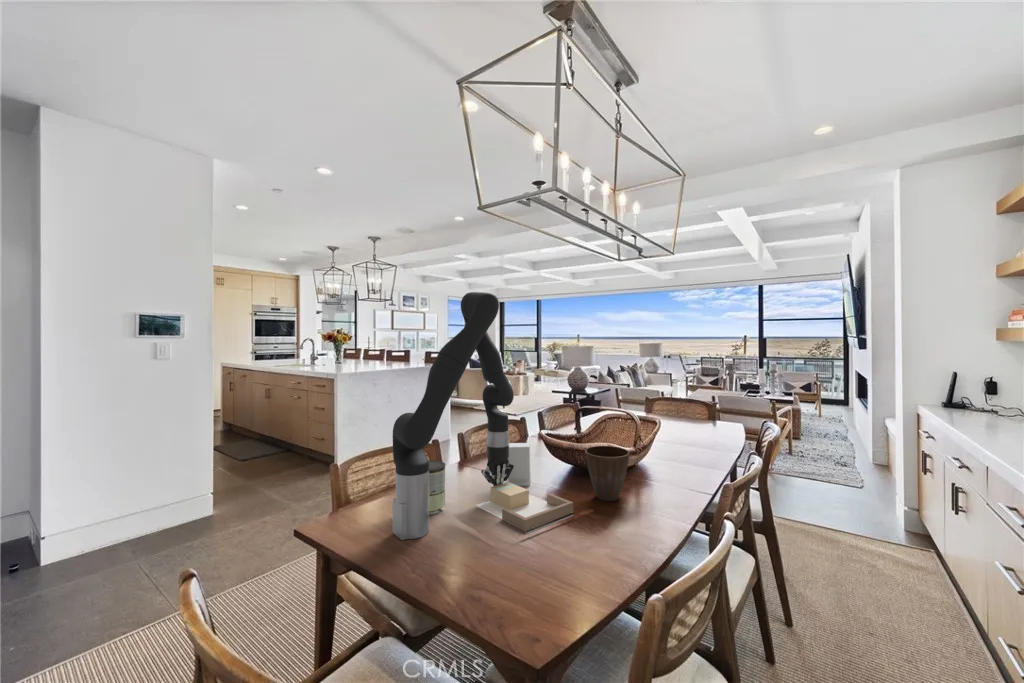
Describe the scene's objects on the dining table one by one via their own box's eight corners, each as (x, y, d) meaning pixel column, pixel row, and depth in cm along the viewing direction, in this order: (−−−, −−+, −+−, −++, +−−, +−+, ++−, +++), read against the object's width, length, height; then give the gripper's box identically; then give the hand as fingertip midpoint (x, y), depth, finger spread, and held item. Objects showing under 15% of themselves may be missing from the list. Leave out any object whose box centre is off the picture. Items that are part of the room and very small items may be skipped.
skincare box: (530, 483, 158) (530, 442, 158) (529, 489, 151) (529, 447, 152) (508, 483, 159) (509, 442, 159) (507, 489, 152) (507, 446, 152)
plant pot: (618, 509, 134) (618, 459, 134) (577, 498, 143) (577, 452, 143) (635, 495, 146) (635, 450, 146) (596, 486, 155) (596, 443, 155)
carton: (510, 510, 130) (510, 495, 130) (490, 501, 137) (490, 487, 137) (528, 503, 135) (528, 489, 135) (509, 495, 143) (509, 482, 143)
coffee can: (406, 510, 132) (406, 466, 133) (428, 500, 141) (428, 458, 141) (430, 517, 127) (430, 471, 127) (451, 506, 136) (452, 463, 136)
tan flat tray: (525, 535, 115) (525, 520, 115) (475, 509, 134) (475, 496, 134) (573, 516, 128) (573, 502, 128) (521, 494, 147) (521, 482, 147)
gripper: (489, 449, 134) (489, 503, 134) (519, 442, 142) (519, 493, 142) (475, 444, 139) (475, 496, 139) (505, 438, 148) (505, 487, 148)
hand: (497, 494), depth 141 cm, fingers closed
